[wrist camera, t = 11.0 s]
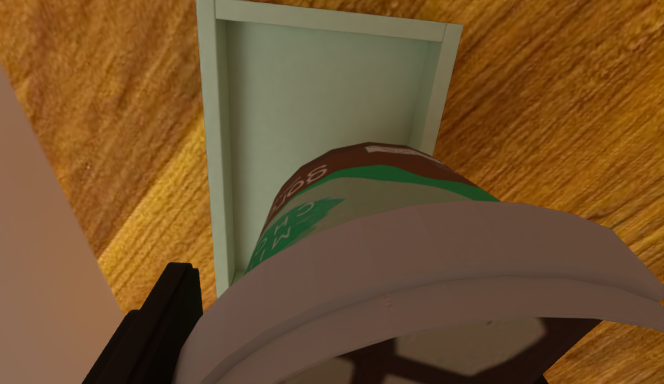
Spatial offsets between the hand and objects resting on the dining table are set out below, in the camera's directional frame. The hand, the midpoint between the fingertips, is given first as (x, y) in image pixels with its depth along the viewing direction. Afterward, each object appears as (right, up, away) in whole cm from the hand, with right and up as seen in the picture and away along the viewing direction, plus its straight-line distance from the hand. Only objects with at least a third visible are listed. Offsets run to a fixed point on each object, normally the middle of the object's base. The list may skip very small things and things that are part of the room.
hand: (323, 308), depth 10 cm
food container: (-1, +3, +5) cm, 6 cm away
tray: (-1, +5, +10) cm, 11 cm away
